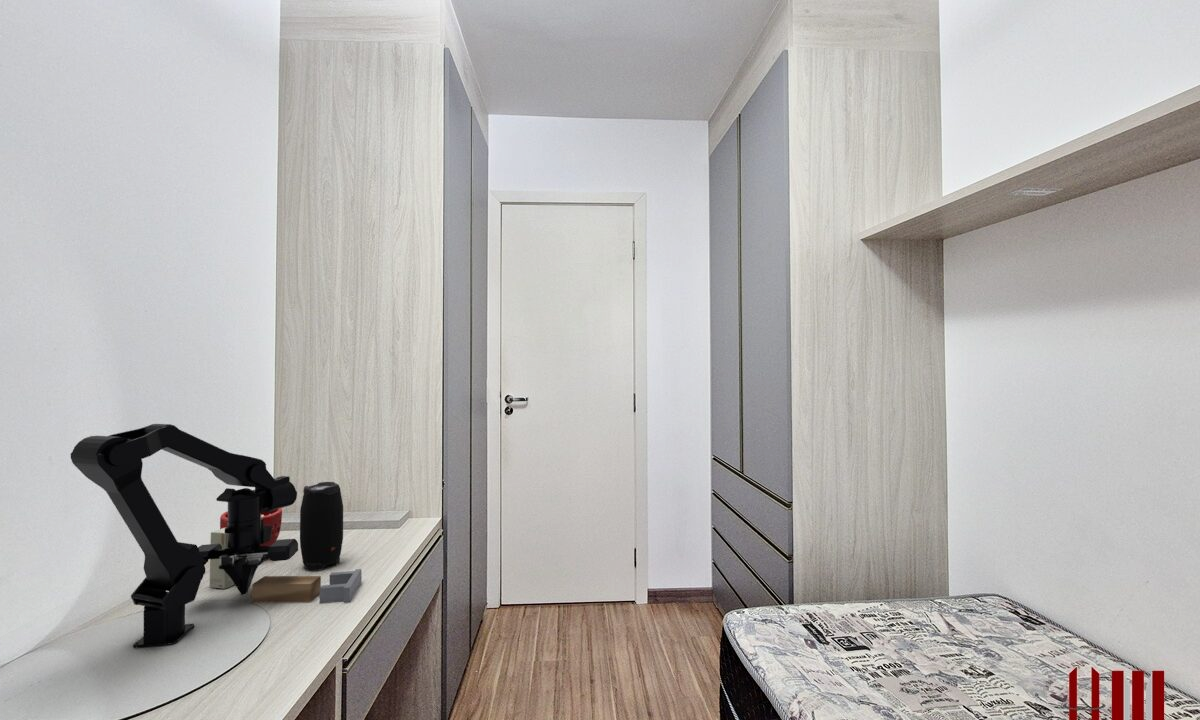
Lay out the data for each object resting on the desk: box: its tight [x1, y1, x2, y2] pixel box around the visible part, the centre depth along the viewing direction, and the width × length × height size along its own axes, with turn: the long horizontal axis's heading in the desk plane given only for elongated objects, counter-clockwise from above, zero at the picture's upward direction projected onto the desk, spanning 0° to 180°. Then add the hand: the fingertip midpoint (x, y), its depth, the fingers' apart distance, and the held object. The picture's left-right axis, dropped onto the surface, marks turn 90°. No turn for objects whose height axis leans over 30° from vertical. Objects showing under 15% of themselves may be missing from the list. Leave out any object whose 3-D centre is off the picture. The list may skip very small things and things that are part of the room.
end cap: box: [319, 568, 363, 604], centre depth 112 cm, size 10×6×3 cm, turn 12°
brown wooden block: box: [251, 575, 322, 603], centre depth 110 cm, size 4×12×4 cm, turn 90°
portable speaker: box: [299, 481, 344, 572], centre depth 128 cm, size 9×9×20 cm
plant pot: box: [219, 508, 283, 552], centre depth 133 cm, size 13×13×12 cm
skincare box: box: [209, 528, 248, 590], centre depth 118 cm, size 6×4×12 cm
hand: (244, 593), depth 108 cm, fingers closed
